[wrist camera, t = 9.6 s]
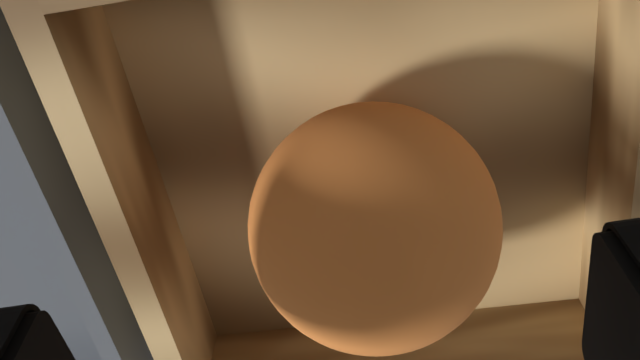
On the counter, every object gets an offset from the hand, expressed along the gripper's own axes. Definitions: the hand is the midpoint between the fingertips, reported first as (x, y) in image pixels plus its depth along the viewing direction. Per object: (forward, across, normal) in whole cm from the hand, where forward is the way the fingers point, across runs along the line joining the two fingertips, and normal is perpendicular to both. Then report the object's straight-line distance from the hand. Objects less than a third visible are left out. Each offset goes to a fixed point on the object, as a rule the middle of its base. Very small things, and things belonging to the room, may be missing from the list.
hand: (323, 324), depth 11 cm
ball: (+7, -1, +1) cm, 7 cm away
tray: (+8, -1, +1) cm, 8 cm away
